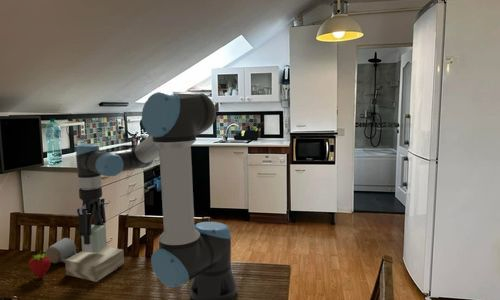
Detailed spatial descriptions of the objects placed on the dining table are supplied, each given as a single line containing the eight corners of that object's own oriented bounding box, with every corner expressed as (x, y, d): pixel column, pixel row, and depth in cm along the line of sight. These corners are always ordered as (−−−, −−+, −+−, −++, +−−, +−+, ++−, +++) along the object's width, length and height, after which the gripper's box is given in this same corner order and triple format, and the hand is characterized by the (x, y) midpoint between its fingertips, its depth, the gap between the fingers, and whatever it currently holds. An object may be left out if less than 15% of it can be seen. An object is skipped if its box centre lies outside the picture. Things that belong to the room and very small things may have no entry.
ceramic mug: (45, 263, 131) (43, 244, 130) (61, 254, 139) (60, 236, 138) (67, 267, 129) (66, 248, 127) (83, 257, 136) (82, 239, 135)
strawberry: (40, 271, 125) (37, 246, 123) (56, 274, 123) (54, 248, 121) (25, 280, 119) (22, 253, 118) (42, 283, 117) (40, 255, 116)
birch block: (124, 264, 131) (123, 249, 130) (96, 282, 118) (95, 266, 117) (95, 258, 136) (94, 244, 135) (66, 275, 123) (64, 259, 122)
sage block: (106, 245, 128) (105, 225, 127) (97, 252, 123) (96, 231, 121) (91, 244, 129) (90, 224, 128) (82, 251, 123) (80, 230, 122)
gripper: (95, 180, 132) (99, 237, 136) (63, 194, 113) (68, 259, 117) (113, 181, 131) (117, 238, 135) (84, 194, 113) (89, 260, 116)
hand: (94, 247), depth 126 cm, fingers closed on sage block, 6 cm apart
